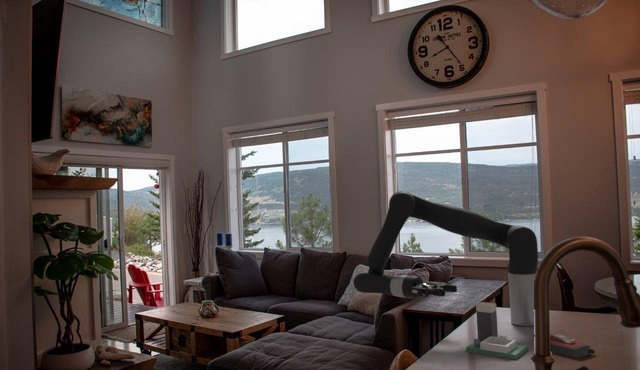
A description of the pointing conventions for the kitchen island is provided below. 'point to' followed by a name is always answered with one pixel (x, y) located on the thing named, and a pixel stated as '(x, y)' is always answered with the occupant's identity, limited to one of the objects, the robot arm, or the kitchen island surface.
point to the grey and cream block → (486, 320)
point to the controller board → (497, 347)
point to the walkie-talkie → (568, 347)
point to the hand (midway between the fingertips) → (450, 290)
